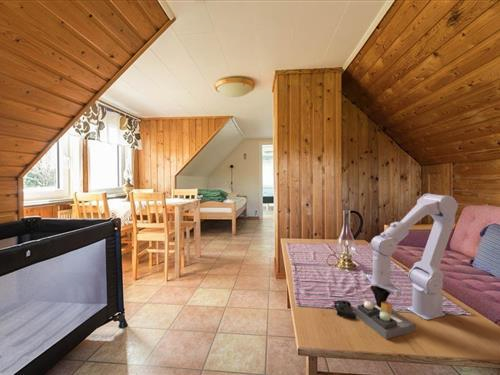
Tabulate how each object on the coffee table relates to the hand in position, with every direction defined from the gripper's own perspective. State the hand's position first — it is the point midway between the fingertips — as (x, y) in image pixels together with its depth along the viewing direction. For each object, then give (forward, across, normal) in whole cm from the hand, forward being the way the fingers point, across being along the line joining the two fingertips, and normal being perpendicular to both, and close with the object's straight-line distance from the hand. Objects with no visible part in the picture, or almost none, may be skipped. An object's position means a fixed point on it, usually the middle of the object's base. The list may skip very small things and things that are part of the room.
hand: (380, 306), depth 90 cm
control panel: (+3, +4, -2) cm, 6 cm away
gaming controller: (+4, -6, -11) cm, 13 cm away
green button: (0, +7, -6) cm, 9 cm away
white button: (0, 0, -6) cm, 6 cm away
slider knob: (0, +3, 0) cm, 3 cm away
